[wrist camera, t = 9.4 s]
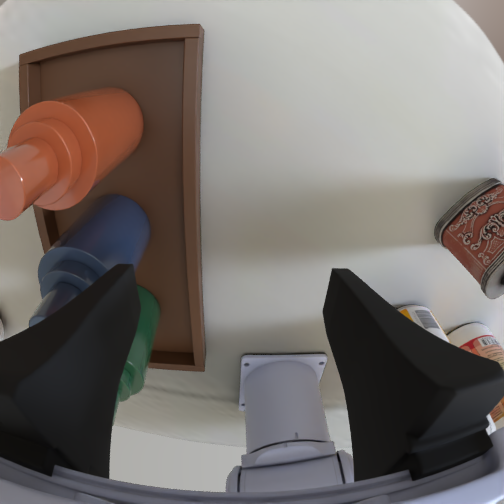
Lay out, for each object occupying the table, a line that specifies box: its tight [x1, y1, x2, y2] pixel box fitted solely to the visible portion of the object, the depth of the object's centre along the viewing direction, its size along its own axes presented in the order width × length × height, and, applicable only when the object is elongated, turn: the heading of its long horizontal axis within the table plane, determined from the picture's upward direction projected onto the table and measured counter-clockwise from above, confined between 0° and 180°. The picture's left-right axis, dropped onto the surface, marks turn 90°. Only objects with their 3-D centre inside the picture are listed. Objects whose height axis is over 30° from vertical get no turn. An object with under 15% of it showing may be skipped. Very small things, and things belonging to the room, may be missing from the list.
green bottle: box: [112, 285, 161, 426], centre depth 20 cm, size 5×5×10 cm
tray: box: [19, 24, 206, 372], centre depth 20 cm, size 26×12×2 cm, turn 177°
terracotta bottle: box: [0, 87, 144, 221], centre depth 13 cm, size 5×5×10 cm
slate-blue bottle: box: [29, 194, 151, 327], centre depth 16 cm, size 5×5×10 cm
